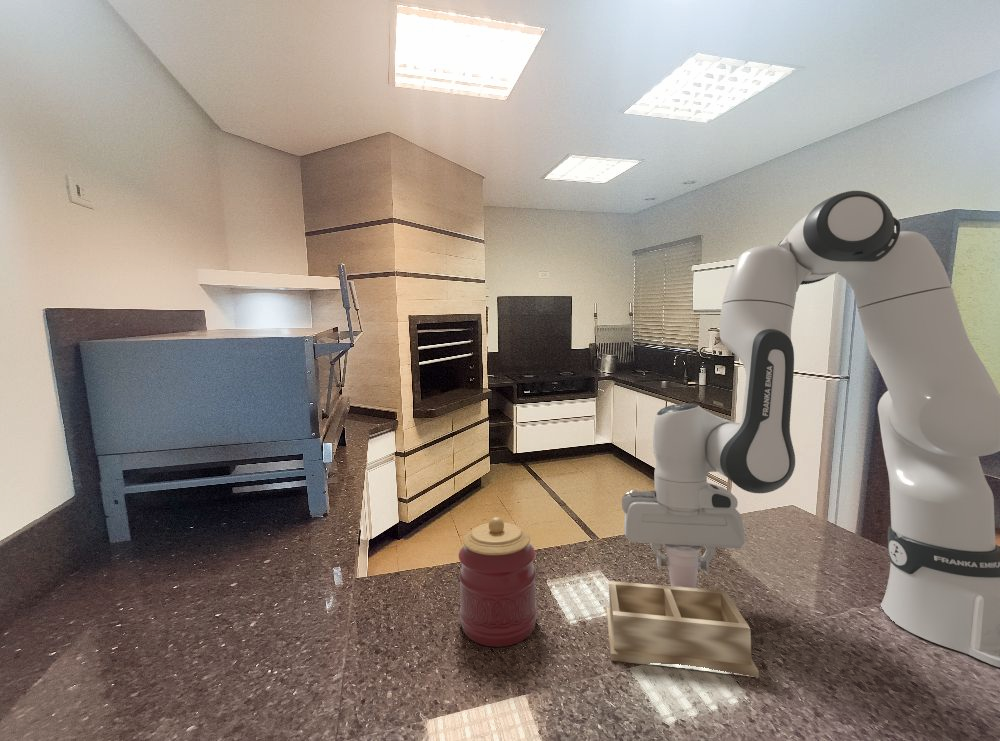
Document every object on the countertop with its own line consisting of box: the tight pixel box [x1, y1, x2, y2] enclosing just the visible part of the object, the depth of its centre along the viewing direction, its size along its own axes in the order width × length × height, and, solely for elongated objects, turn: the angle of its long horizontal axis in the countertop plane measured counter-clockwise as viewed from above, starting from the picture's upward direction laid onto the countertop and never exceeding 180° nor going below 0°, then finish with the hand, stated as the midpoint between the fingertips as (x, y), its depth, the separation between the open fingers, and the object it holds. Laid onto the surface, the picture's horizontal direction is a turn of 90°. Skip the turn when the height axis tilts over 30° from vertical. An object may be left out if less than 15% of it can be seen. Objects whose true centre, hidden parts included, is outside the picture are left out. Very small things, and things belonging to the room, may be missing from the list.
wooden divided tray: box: [605, 580, 760, 678], centre depth 60 cm, size 19×12×6 cm, turn 78°
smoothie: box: [662, 544, 702, 588], centre depth 72 cm, size 6×6×14 cm
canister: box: [457, 516, 538, 648], centre depth 66 cm, size 13×13×18 cm
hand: (682, 567), depth 72 cm, fingers open, 6 cm apart
